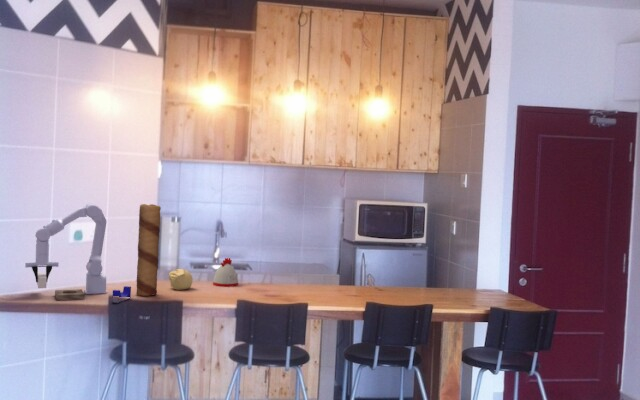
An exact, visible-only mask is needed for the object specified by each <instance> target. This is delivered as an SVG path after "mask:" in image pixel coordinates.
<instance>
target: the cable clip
mask: <svg viewBox="0 0 640 400" xmlns="http://www.w3.org/2000/svg"><path fill="white" fill-rule="evenodd" d="M131 291H132V287H131V286H126V285H125V286H123V290H122V291H121V290H120V289H113V290H112V297H113V296H119V297H130V298H131V295H132V293H131Z"/></svg>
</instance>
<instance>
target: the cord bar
mask: <svg viewBox="0 0 640 400" xmlns="http://www.w3.org/2000/svg"><path fill="white" fill-rule="evenodd" d="M46 280H47V277H46V272H38V282H36V285H37V289H47V282H46ZM47 281H48V280H47Z"/></svg>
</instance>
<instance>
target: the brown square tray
mask: <svg viewBox="0 0 640 400" xmlns="http://www.w3.org/2000/svg"><path fill="white" fill-rule="evenodd" d="M85 295H86V293H85V292H84V291H83V289H79V288H78V289H57V290H55V291H54V296H55V298H56V301H57V302H58V301H60V302H61V301H77V300H81V301H82V300H85Z"/></svg>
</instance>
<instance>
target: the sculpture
mask: <svg viewBox="0 0 640 400" xmlns="http://www.w3.org/2000/svg"><path fill="white" fill-rule="evenodd" d="M193 278H194V277H193V276H192V274H191V273H190V271H188V270H186V269H183V268H178V269H174V270H172V271H170V272H169V274H168V279H169V282H170V287H171V288H173V289H174V290H177V291H182V290H187V289H190V288H191V287H192V285H193V283H194V281H193Z"/></svg>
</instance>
